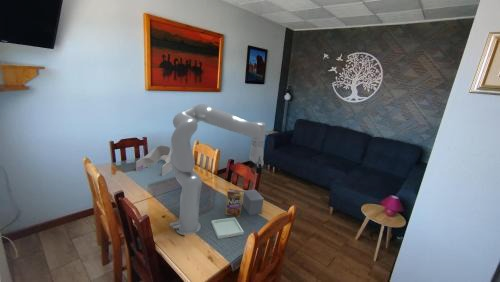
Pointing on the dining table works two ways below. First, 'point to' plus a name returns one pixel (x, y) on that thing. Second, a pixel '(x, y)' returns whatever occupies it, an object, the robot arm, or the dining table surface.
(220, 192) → the dining table surface
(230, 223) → the tray
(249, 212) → the block
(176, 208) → the dining table surface
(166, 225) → the dining table surface
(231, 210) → the candy box
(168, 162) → the casing
